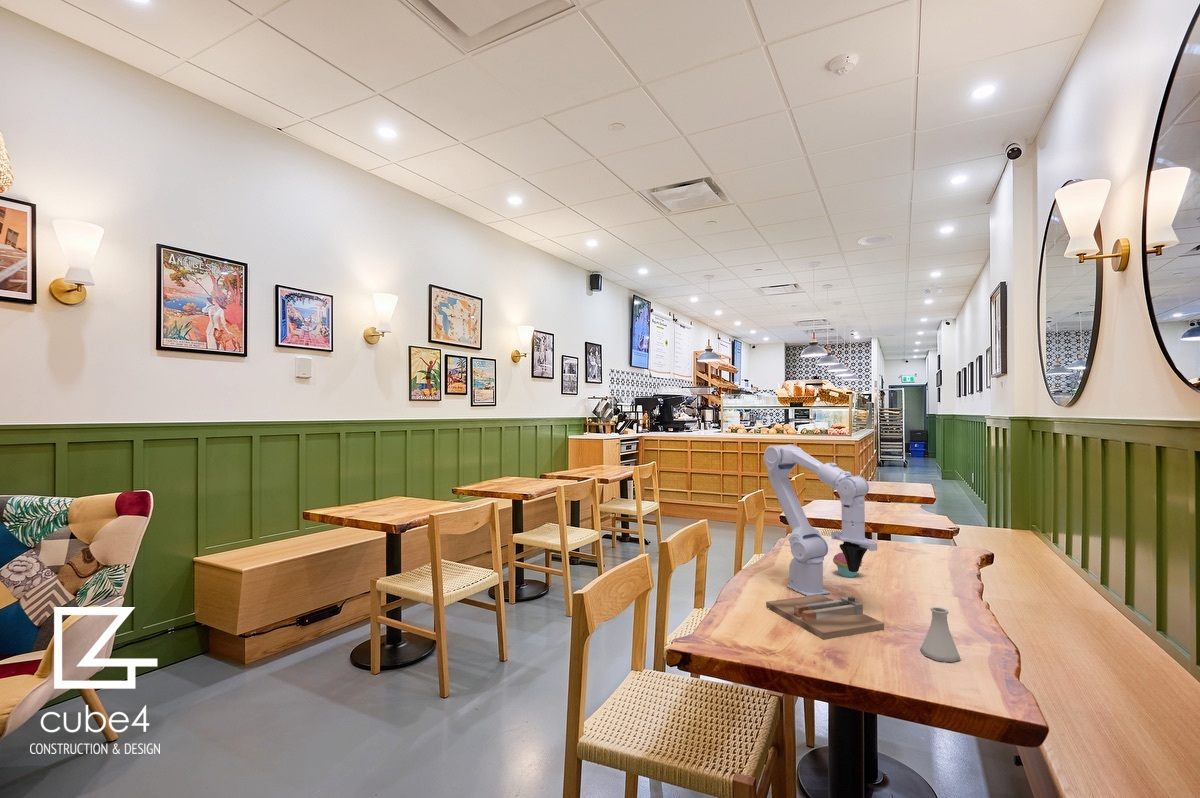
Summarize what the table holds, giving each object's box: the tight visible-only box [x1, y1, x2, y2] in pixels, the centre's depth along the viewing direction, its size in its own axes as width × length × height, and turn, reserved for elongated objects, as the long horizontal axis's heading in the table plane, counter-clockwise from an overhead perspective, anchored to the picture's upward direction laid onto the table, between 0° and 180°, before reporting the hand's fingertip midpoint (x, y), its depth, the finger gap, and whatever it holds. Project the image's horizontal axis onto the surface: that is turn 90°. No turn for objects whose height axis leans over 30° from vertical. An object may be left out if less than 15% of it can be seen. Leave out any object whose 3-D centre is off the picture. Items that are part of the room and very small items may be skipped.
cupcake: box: [832, 552, 863, 578], centre depth 178 cm, size 9×8×12 cm
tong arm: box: [794, 599, 843, 616], centre depth 141 cm, size 14×2×2 cm, turn 109°
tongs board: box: [765, 594, 885, 640], centre depth 142 cm, size 22×18×5 cm
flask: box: [919, 606, 962, 663], centre depth 120 cm, size 7×7×10 cm
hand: (853, 571), depth 150 cm, fingers closed
